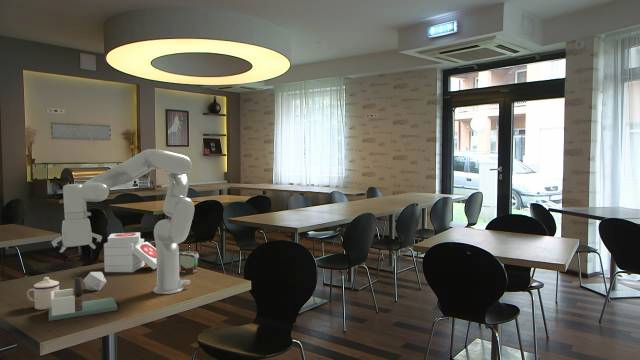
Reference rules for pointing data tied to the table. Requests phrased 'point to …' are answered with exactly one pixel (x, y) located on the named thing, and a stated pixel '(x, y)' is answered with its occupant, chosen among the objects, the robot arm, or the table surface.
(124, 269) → the pizza boxes
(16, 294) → the table surface
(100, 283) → the die
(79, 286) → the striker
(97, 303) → the game board
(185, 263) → the food container
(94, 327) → the table surface
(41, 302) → the teacup with lid
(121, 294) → the table surface
